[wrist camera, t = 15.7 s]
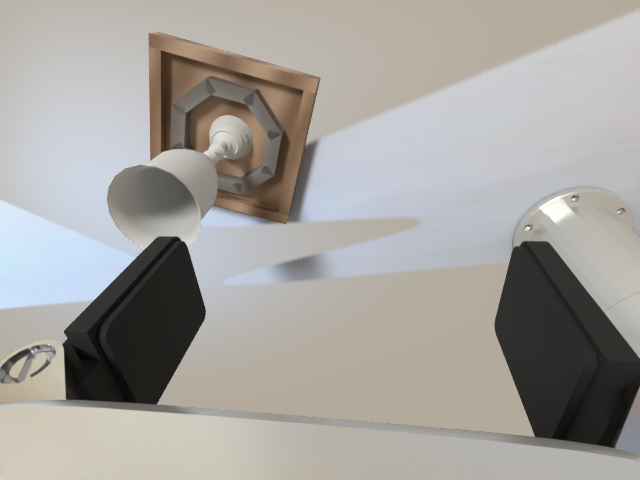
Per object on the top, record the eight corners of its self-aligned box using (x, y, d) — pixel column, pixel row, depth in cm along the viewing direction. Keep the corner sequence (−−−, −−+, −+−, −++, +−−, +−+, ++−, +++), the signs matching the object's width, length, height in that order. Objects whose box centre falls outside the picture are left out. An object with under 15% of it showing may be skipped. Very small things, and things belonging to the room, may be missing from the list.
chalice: (243, 179, 44) (179, 268, 29) (191, 147, 42) (96, 223, 27) (272, 128, 40) (217, 200, 25) (217, 91, 39) (123, 144, 24)
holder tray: (320, 77, 38) (317, 81, 36) (289, 215, 47) (285, 225, 45) (159, 32, 37) (147, 33, 35) (159, 181, 46) (149, 189, 44)
